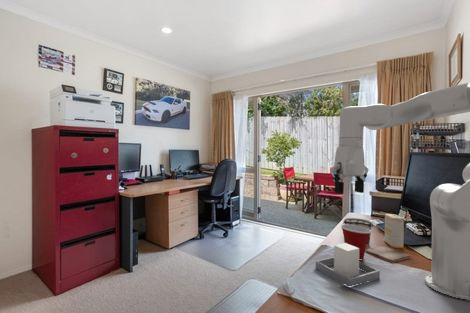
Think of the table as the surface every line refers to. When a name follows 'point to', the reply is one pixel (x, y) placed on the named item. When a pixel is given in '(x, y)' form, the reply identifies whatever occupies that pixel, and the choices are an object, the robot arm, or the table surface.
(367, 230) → the plastic cup
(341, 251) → the carton
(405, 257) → the beige square coaster
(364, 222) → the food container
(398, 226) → the supplement box
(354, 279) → the bin
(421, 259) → the table surface
